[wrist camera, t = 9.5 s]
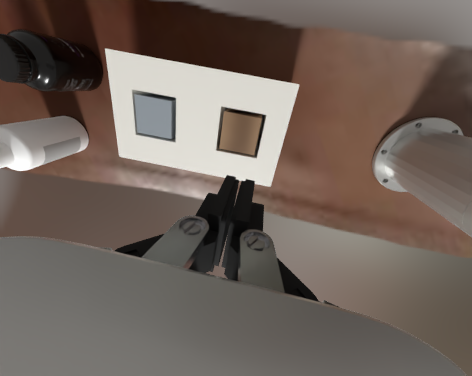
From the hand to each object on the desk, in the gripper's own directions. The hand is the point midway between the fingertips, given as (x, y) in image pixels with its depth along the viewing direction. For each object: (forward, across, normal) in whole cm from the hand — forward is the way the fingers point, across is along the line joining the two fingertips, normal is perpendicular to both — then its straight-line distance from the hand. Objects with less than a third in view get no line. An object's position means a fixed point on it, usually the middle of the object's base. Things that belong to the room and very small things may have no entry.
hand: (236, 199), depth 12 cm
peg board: (+25, +8, 0) cm, 26 cm away
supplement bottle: (+24, +30, -4) cm, 39 cm away
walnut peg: (+23, +2, 0) cm, 23 cm away
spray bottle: (+24, +35, +8) cm, 44 cm away
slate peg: (+23, +14, 0) cm, 27 cm away
